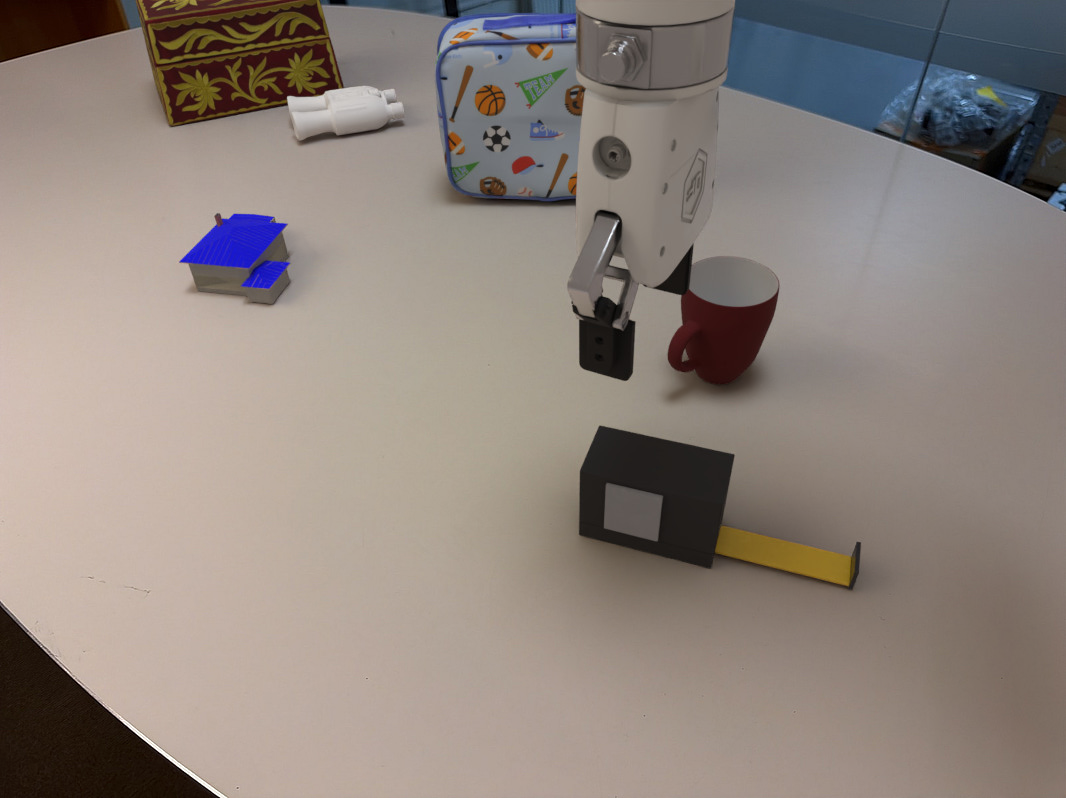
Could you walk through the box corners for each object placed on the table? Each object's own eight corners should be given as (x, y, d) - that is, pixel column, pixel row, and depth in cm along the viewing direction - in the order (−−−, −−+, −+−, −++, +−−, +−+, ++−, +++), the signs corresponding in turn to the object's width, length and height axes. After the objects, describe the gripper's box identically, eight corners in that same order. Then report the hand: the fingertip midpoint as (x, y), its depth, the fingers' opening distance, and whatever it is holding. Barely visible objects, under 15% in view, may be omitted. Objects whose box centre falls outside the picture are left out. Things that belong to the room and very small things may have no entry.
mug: (711, 426, 70) (726, 333, 63) (638, 385, 74) (645, 294, 68) (778, 370, 75) (798, 278, 69) (707, 335, 80) (719, 245, 73)
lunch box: (652, 166, 108) (665, -13, 94) (664, 202, 101) (681, 13, 86) (447, 174, 108) (428, -4, 94) (443, 212, 100) (422, 24, 86)
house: (326, 239, 96) (316, 196, 92) (274, 307, 86) (261, 261, 82) (239, 232, 98) (226, 189, 94) (178, 297, 88) (161, 252, 84)
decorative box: (169, 127, 123) (135, 23, 113) (156, 88, 136) (124, -9, 126) (346, 94, 131) (328, -6, 122) (318, 60, 144) (299, -33, 134)
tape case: (723, 516, 62) (735, 451, 58) (710, 572, 58) (722, 507, 54) (597, 486, 65) (600, 422, 60) (577, 538, 61) (578, 473, 56)
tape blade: (854, 559, 59) (861, 542, 57) (852, 590, 57) (859, 572, 55) (720, 527, 61) (723, 509, 60) (714, 555, 59) (717, 538, 58)
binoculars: (291, 120, 124) (283, 89, 121) (394, 105, 127) (389, 74, 124) (298, 147, 116) (291, 115, 113) (407, 129, 120) (403, 98, 117)
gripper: (661, 119, 33) (641, 430, 44) (775, 3, 44) (736, 273, 55) (499, 94, 35) (519, 393, 47) (645, -9, 47) (633, 250, 58)
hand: (637, 328), depth 51 cm, fingers open, 9 cm apart
